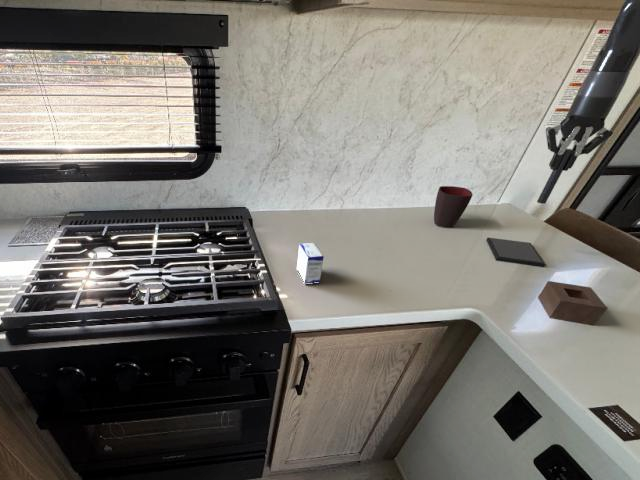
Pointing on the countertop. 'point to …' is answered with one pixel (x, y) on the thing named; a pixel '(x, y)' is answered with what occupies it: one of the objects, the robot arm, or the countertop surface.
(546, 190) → the stylus
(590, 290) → the pen holder
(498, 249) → the tablet
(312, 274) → the box
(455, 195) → the cup
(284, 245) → the countertop surface
